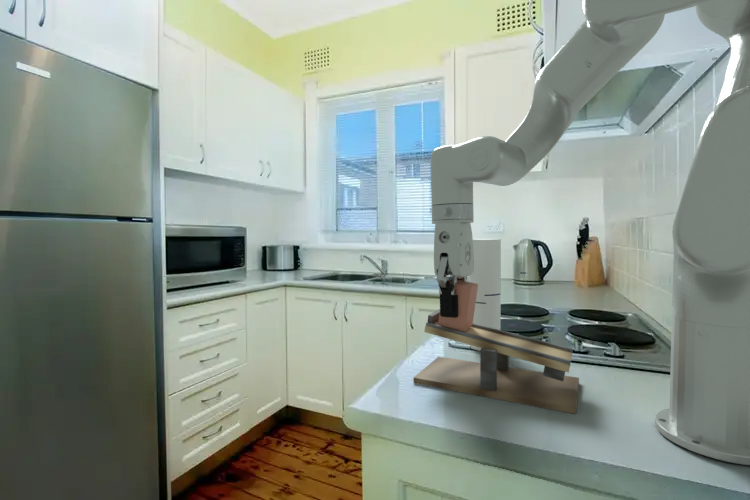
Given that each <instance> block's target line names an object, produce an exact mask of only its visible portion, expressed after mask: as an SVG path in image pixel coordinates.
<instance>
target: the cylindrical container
mask: <svg viewBox="0 0 750 500" xmlns="http://www.w3.org/2000/svg"><path fill="white" fill-rule="evenodd" d="M501 243H502V239H501V238H473V252H474V272H473V274H471V275H469V276H468V282H472V283H477V284H478V290H477V297H476V304H475V311H474V318H473V323H474V324H478V325H482V326H486V327H490V328H494V329H498V330H502V329H501V322H502V321H501V318H502V317H501V315H502V314H501V310H502V309H501V307H502V306H501V305H502V304H501V303H502V302H501V297H502V296H501V295H502V294H501V293H502V291H501V288H502V287H501V285H502V281H501V278H502V275H501V272H502V271H501V269H502V268H501V265H502V257H501V254H502V253H501V252H502V251H501V250H502V247H501V245H502V244H501ZM470 347H471V348H470ZM470 347H469V348H470V349H472V350H475V351H479V352H480V350H481V349H482V348H479V347H476V346H472V345H470Z"/></svg>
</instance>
